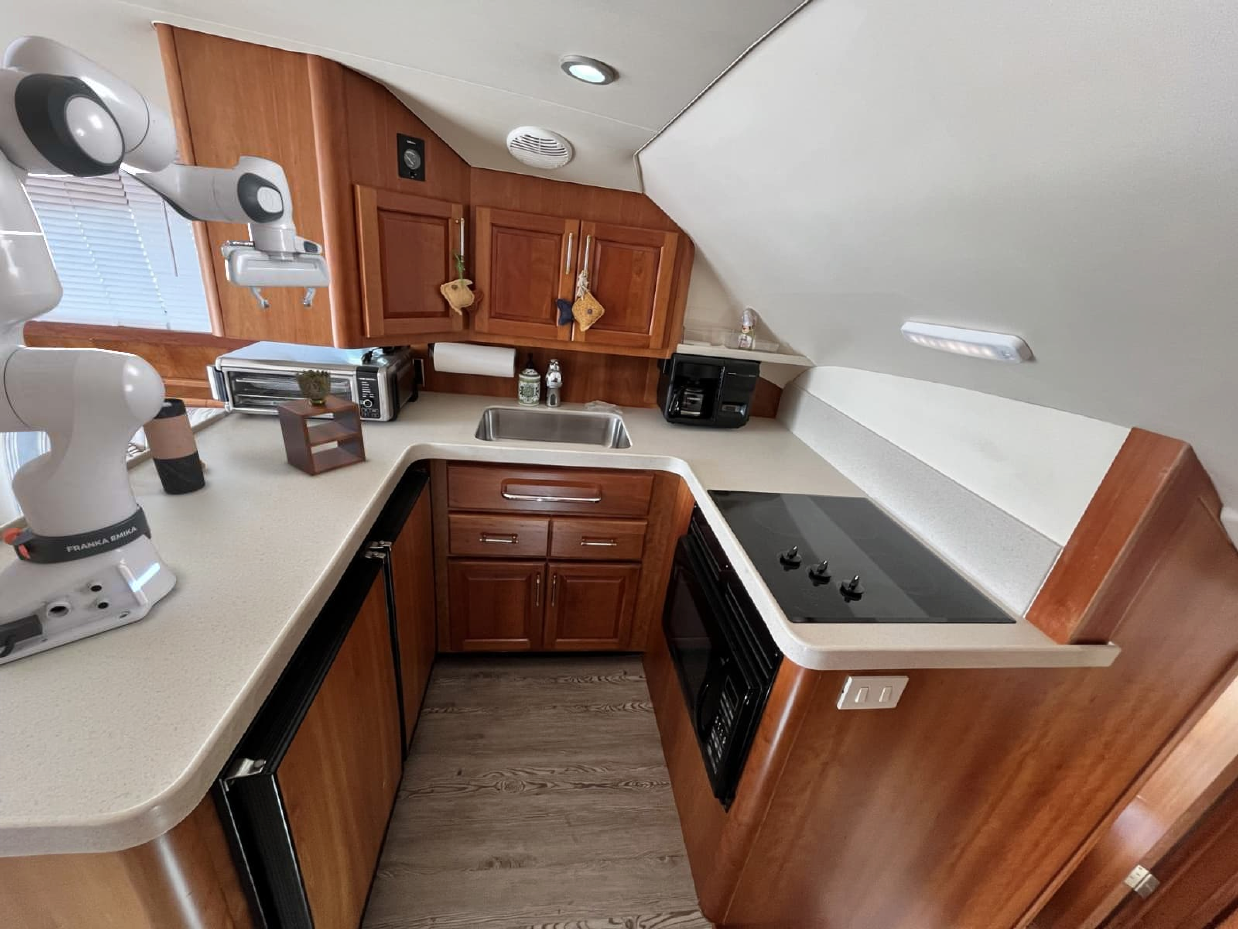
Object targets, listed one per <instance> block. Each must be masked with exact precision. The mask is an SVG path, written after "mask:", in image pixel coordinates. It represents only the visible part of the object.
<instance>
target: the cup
mask: <svg viewBox="0 0 1238 929" xmlns="http://www.w3.org/2000/svg"><path fill="white" fill-rule="evenodd" d="M331 373H332V372H331V371H328V370H324V369H322V370H321V371H320V370H319V369H317V370H316V371H314V370H313V369H309V370H305V369H304V370H302V372H301V373H299V372H296V373H295V374H294V375H295V378H296V381H297V382H296V383H297V384H298V388H299V391H300V393H301V394H302V396H303V397H304V398H305V399H309V402H310V404H311V405H323V404H325V403H326V399H325V398H326V397H327V396H328V395H331V390H332V382H331V381H332V380H331V379H332V378H331Z"/></svg>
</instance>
